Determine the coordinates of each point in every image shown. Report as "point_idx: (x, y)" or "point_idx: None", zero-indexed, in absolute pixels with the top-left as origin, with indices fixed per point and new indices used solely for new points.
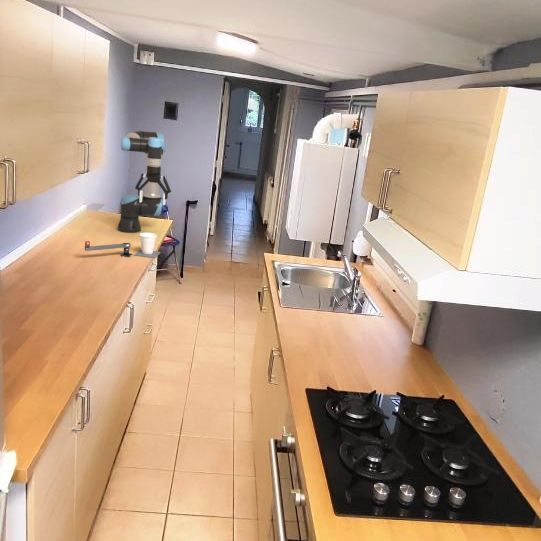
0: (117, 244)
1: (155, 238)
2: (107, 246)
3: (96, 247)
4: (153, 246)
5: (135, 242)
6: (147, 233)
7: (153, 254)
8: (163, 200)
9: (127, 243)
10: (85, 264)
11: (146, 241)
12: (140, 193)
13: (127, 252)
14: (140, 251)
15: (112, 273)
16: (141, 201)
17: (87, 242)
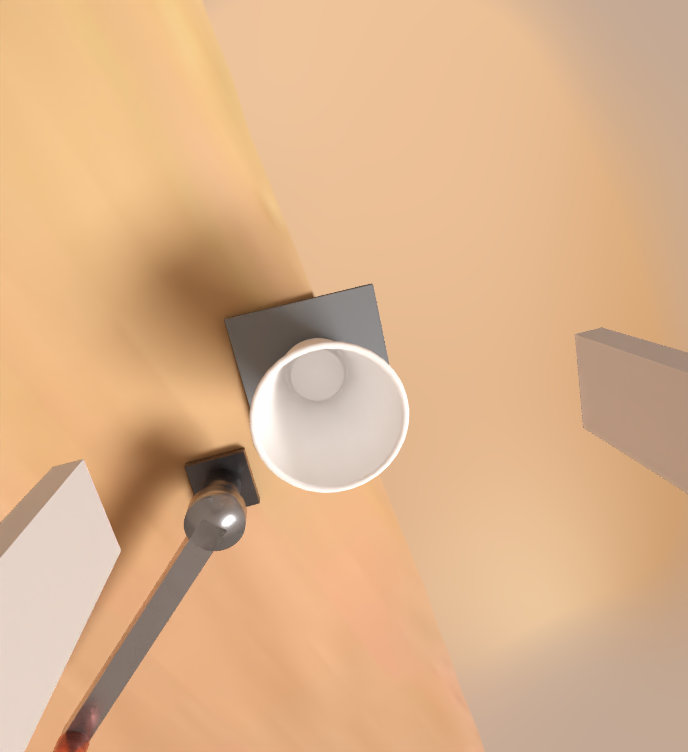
0: (177, 580)
1: (398, 408)
2: (151, 644)
3: (113, 702)
4: (372, 393)
5: (47, 125)
6: (286, 360)
7: None
8: (656, 468)
9: (215, 515)
10: (156, 730)
11: (345, 461)
12: (15, 739)
13: None
14: (254, 366)
15: (348, 743)
16: (99, 512)
17: None
